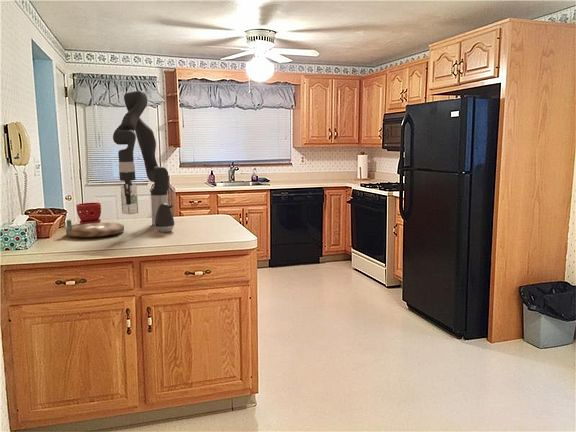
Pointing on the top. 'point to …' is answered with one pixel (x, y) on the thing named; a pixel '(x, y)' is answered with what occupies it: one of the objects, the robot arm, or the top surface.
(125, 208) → the syrup box
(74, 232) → the disc
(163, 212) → the pump dispenser
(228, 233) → the top surface
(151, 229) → the top surface
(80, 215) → the plant pot
